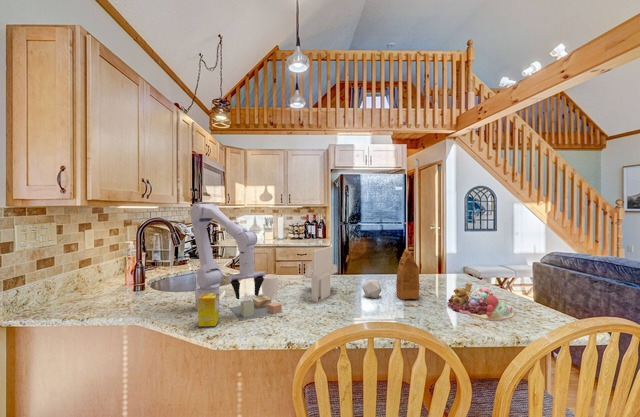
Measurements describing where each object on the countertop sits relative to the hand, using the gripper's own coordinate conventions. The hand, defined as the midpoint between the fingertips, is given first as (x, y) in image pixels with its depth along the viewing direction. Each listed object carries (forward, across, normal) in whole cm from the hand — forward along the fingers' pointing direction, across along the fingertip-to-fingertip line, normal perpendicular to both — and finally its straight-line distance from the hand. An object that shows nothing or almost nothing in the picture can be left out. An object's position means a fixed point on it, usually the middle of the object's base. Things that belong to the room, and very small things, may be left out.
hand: (247, 297), depth 123 cm
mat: (+7, +4, +4) cm, 9 cm away
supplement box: (+8, -15, -2) cm, 17 cm away
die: (+8, +58, -8) cm, 59 cm away
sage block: (+7, 0, 0) cm, 7 cm away
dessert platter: (+8, +85, -45) cm, 96 cm away
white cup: (+8, +17, +17) cm, 25 cm away
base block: (+7, +9, +7) cm, 13 cm away
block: (+7, +10, -2) cm, 13 cm away
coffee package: (+8, +72, -17) cm, 74 cm away
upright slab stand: (+8, +39, +8) cm, 40 cm away
